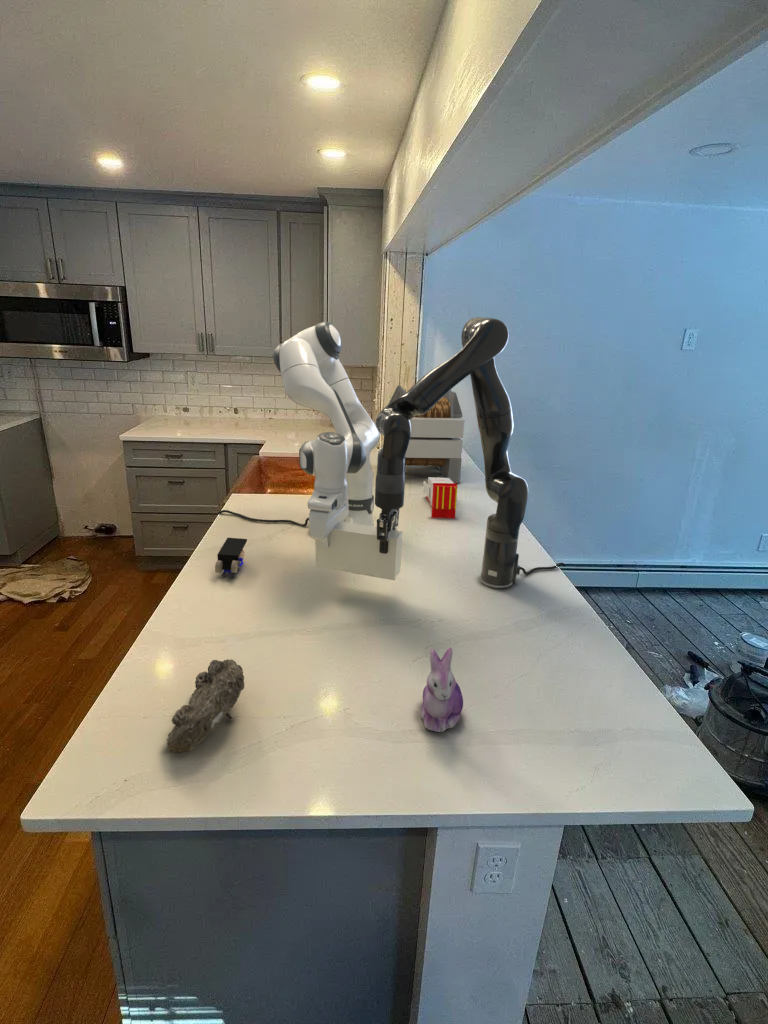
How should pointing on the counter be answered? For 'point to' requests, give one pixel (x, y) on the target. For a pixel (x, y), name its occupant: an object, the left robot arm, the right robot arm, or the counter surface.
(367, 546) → the box
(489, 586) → the right robot arm
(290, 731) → the counter surface
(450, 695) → the figurine
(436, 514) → the toy
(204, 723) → the fossil
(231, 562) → the black toy rover
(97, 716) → the counter surface
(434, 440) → the transformer
